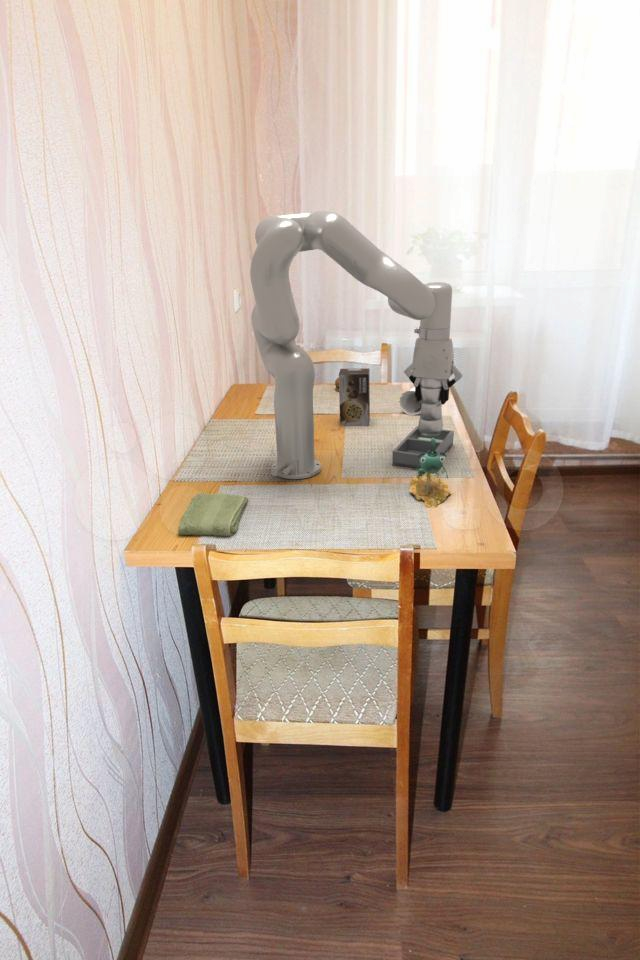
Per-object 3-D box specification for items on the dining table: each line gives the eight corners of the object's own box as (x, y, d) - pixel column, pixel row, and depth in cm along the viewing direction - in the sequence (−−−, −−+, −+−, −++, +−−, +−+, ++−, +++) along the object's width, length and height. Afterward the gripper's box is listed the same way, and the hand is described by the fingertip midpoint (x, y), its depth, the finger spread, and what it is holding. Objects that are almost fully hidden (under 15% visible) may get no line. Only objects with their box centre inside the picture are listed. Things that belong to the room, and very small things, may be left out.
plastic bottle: (447, 436, 174) (451, 363, 165) (425, 440, 172) (428, 366, 163) (434, 429, 179) (438, 357, 171) (413, 432, 177) (415, 360, 169)
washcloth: (250, 501, 151) (249, 489, 149) (235, 539, 135) (234, 526, 133) (195, 500, 152) (193, 488, 150) (173, 538, 136) (172, 525, 134)
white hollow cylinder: (444, 401, 215) (445, 377, 212) (422, 417, 201) (423, 392, 197) (422, 397, 219) (423, 374, 216) (398, 413, 204) (399, 389, 201)
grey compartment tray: (432, 472, 163) (432, 457, 161) (392, 465, 167) (392, 451, 165) (453, 444, 179) (453, 430, 178) (416, 439, 184) (416, 426, 182)
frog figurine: (448, 476, 160) (453, 422, 153) (452, 517, 145) (457, 460, 138) (409, 475, 162) (412, 421, 154) (409, 515, 146) (412, 458, 139)
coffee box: (370, 419, 200) (370, 368, 193) (369, 426, 194) (369, 373, 188) (340, 418, 201) (340, 367, 194) (339, 425, 195) (338, 373, 189)
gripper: (397, 334, 164) (395, 402, 172) (464, 339, 158) (460, 409, 165) (406, 328, 171) (404, 394, 178) (472, 332, 164) (467, 401, 171)
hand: (431, 401), depth 171 cm, fingers closed on plastic bottle, 6 cm apart
